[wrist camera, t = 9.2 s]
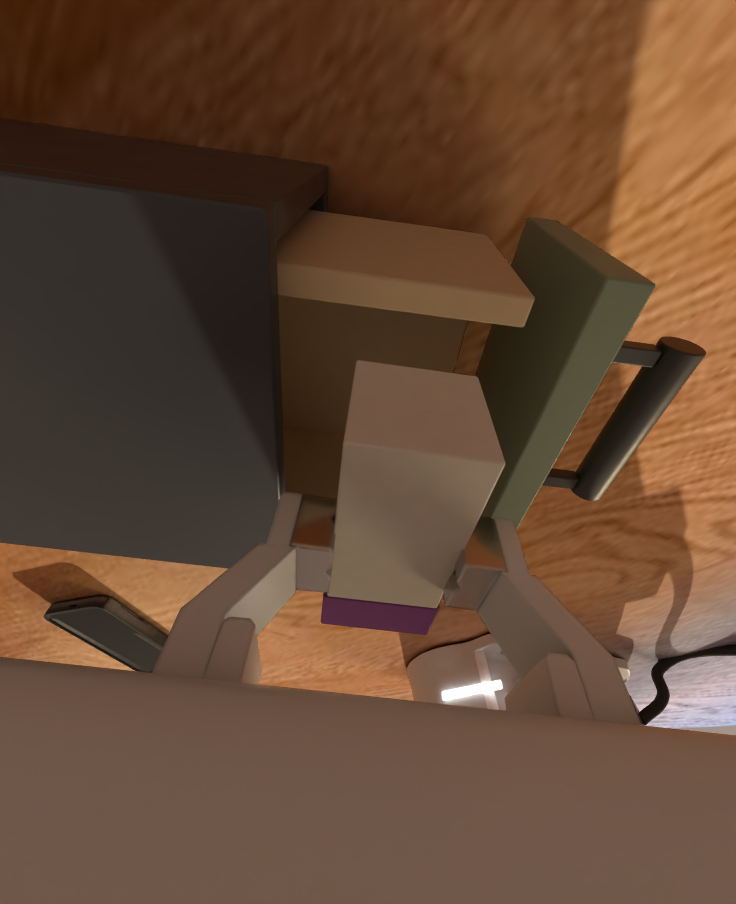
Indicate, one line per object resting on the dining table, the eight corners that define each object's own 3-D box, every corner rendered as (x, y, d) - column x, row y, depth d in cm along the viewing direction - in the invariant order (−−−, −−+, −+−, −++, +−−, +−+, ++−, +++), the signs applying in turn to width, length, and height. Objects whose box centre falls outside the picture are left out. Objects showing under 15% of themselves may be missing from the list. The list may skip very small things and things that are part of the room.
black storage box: (328, 165, 15) (265, 207, 8) (318, 438, 23) (284, 575, 16) (-74, 107, 14) (-525, 97, 7) (66, 407, 23) (-79, 534, 16)
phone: (144, 676, 47) (37, 615, 38) (149, 666, 47) (45, 604, 38) (199, 670, 44) (99, 605, 35) (203, 660, 45) (107, 593, 36)
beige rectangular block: (352, 358, 9) (337, 441, 7) (482, 376, 10) (512, 464, 7) (333, 536, 14) (320, 624, 12) (421, 546, 14) (427, 635, 12)
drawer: (682, 238, 15) (854, 311, 9) (550, 469, 22) (600, 585, 17) (191, 168, 14) (58, 201, 9) (230, 429, 22) (173, 535, 16)
